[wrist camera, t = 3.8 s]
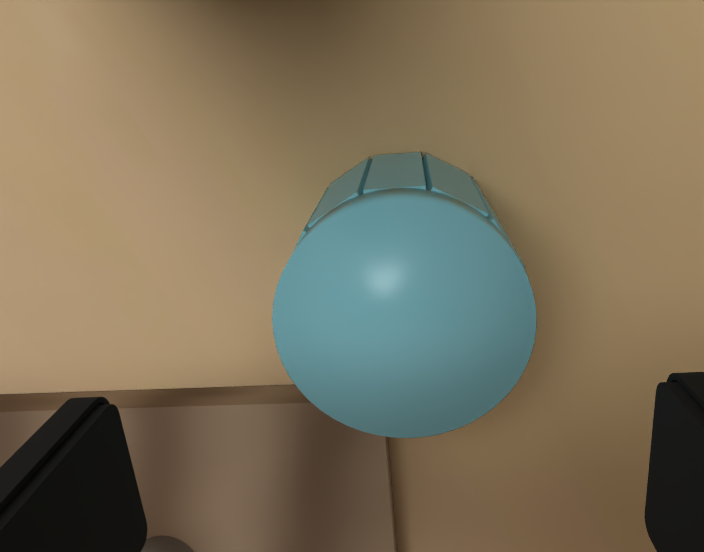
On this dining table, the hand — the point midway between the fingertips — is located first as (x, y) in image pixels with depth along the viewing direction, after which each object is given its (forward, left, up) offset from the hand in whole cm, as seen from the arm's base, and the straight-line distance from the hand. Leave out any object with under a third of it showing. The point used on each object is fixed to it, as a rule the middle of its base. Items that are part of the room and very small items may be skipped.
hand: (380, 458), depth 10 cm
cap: (0, -1, -10) cm, 10 cm away
